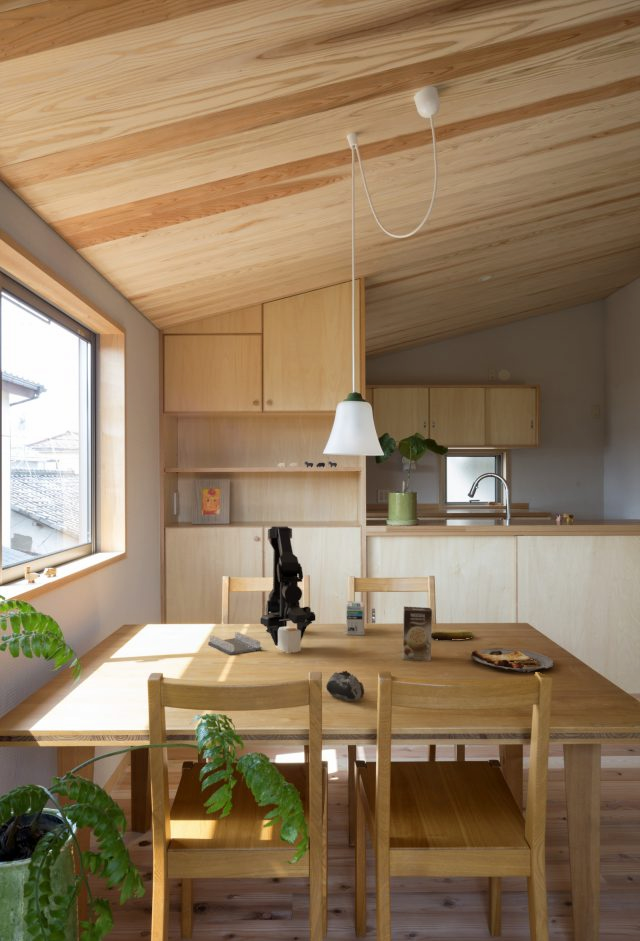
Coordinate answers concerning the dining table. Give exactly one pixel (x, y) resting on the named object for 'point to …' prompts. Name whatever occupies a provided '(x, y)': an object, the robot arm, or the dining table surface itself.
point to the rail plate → (235, 644)
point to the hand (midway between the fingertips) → (288, 643)
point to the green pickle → (451, 635)
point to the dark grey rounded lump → (345, 686)
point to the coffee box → (417, 633)
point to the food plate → (511, 659)
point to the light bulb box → (354, 618)
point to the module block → (289, 639)
